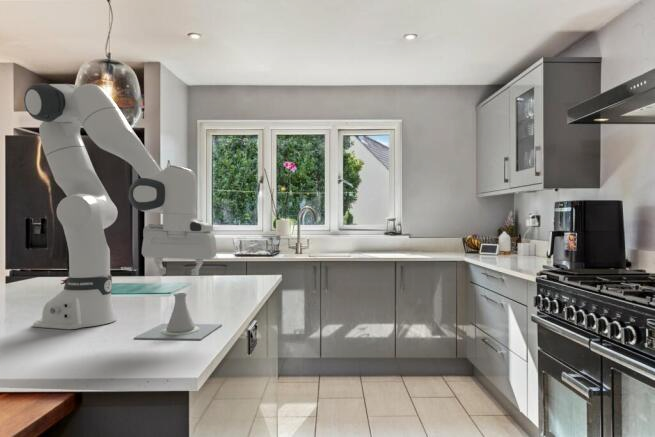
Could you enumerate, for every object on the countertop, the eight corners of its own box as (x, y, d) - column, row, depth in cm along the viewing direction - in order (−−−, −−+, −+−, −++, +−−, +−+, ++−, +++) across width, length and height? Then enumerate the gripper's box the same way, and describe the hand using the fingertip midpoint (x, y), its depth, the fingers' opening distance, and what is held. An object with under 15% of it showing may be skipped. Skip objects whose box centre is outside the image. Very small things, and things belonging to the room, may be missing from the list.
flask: (182, 334, 119) (181, 296, 119) (160, 331, 122) (160, 294, 122) (199, 328, 126) (199, 292, 126) (179, 326, 128) (179, 291, 128)
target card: (133, 339, 117) (133, 336, 117) (162, 324, 133) (162, 322, 133) (200, 340, 115) (200, 337, 115) (221, 325, 131) (221, 323, 131)
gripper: (137, 223, 122) (136, 274, 122) (210, 225, 120) (209, 277, 120) (149, 223, 128) (148, 272, 128) (218, 225, 126) (217, 274, 126)
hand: (178, 274), depth 124 cm, fingers open, 8 cm apart
